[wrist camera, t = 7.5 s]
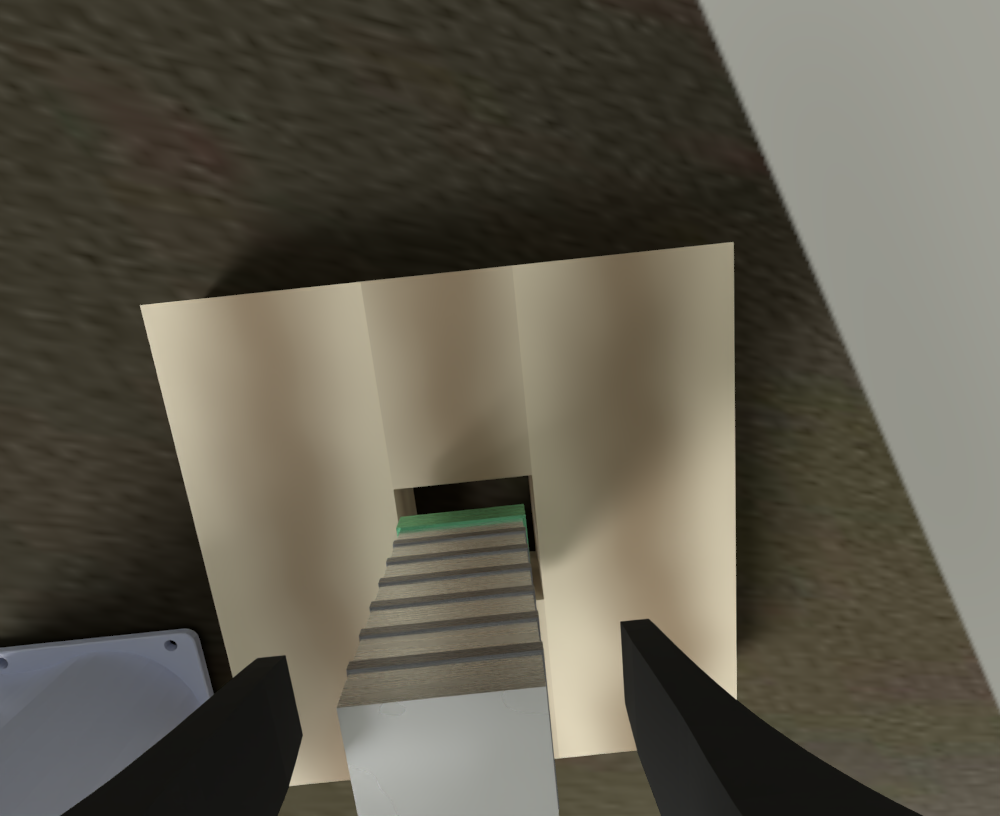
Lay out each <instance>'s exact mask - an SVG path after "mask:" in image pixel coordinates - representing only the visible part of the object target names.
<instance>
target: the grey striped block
mask: <svg viewBox="0 0 1000 816" xmlns="http://www.w3.org/2000/svg"><path fill="white" fill-rule="evenodd" d="M396 531H397V537H398V538H397V540H394V542H393V552H392V555H391V557H390V558H387V561H386V566H387V569H386V571H385V574H384V577H383V578H380V580H379V583H378V585H379V591H378V594H377V596H376V599H375V601H371V604H370V607H369V609H370V616H369V619H368V621H367V624H366V627H365V629H361V631H360V634H359V641H360V644H359V646H358V649H357V652H356V655H355V657H354V660H353V661H349V664H348V666H347V669H346V672H347V680H346V682H345V685H344V688H343V691H342V694H341V696H340V699H339V702H338V705H337V707H336V709H337V714H338V719H339V724H340V729H341V734H342V739H343V744H344V749H345V754H346V759H347V764H348V768H349V773H350V778H351V783H352V788H353V793H354V798H355V803H356V808H357V813H358V816H559V812H558V809H559V800H558V790H557V780H556V770H555V760H554V749H553V739H552V729H551V719H550V709H549V698H548V688H547V678H546V668H545V658H544V648H543V642H542V641H541V633H540V623H539V615H538V611H537V607H536V596H535V588H534V585H533V578H532V568H531V562H530V555H529V545H528V535H527V525H526V515H525V509H524V504H518V505H508V506H499V507H489V508H480V509H470V510H460V511H451V512H441V513H432V514H422V515H413V516H403V517H400V519H399V522H398V525H397V527H396Z"/></svg>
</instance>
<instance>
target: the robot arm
mask: <svg viewBox="0 0 1000 816" xmlns="http://www.w3.org/2000/svg"><path fill="white" fill-rule="evenodd" d="M620 628H621V646H622V663H623V681H624V698H625V706H626V710H627V714H628V718H629V722H630V725H631V729H632V733H633V737H634V741H635V744H636V748H637V752H638V755H639V758H640V760H641V763H642V766H643V768H644V771H645V774H646V776H647V779H648V782H649V784H650V787H651V790H652V792H653V795H654V798H655V800H656V803H657V806H658V808H659V811H660V814H661V816H922V815H920V814H918V813H916V812H914V811H912V810H910V809H908V808H906V807H904V806H902V805H900V804H898V803H896V802H894V801H892V800H891V799H889V798H887V797H885V796H883V795H881V794H880V793H878V792H876V791H874V790H872V789H870V788H868V787H867V786H865V785H863V784H861V783H860V782H858V781H856V780H854V779H853V778H851V777H849V776H848V775H846V774H844V773H843V772H841V771H839V770H837V769H836V768H834V767H832V766H831V765H829V764H827V763H826V762H824V761H822V760H821V759H819V758H818V757H816V756H814V755H813V754H811V753H810V752H808V751H807V750H805V749H803V748H802V747H800V746H799V745H798V744H796V743H795V742H793V741H792V740H790V739H789V738H787V737H786V736H784V735H783V734H782V733H780V732H779V731H777V730H776V729H774V728H773V727H771V726H770V725H769V724H767V723H766V722H765V721H763V720H762V719H760V718H759V717H758V716H756V715H755V714H754V713H753V712H751V711H750V710H749V709H748V708H746V707H745V706H744V705H743V704H741V703H740V702H739V701H738V700H736V699H735V698H734V697H733V696H732V695H730V694H729V693H728V692H727V691H726V690H724V689H723V688H722V687H721V686H720V685H719V684H717V683H716V682H715V681H714V680H713V679H712V678H711V677H710V676H709V675H707V674H706V673H705V672H704V671H703V670H702V669H701V668H700V667H698V666H697V665H696V664H695V663H694V662H693V661H692V660H691V659H690V658H689V657H688V656H687V655H686V654H685V653H684V652H683V651H682V650H680V649H679V648H678V647H677V646H676V645H675V644H674V643H673V642H672V641H671V640H670V639H669V638H668V637H667V636H666V635H665V634H664V633H663V632H662V631H661V630H660V629H659V628H658V627H657V626H656V625H655V624H654V623H653V622H652V621H651V620H650V619H640V620H630V621H620ZM170 640H173V641H174V642H176V644H177V645H174V644H172V643H171V642H170ZM6 660H7V661H6ZM302 737H303V733H302V728H301V724H300V719H299V715H298V710H297V705H296V701H295V696H294V692H293V687H292V682H291V678H290V673H289V669H288V664H287V660H286V655H282V656H272V657H262V658H257V659H255V660H254V661H253V662H252V663H250V664H249V665H248V666H246V667H245V668H244V669H243V670H242V671H240V672H239V673H238V674H237V675H236V676H235V677H233V678H232V679H231V680H230V681H229V682H228V683H226V684H225V685H224V686H223V687H222V688H221V689H219V690H218V691H217V692H216V693H215V694H214V693H213V689H212V685H211V681H210V677H209V673H208V670H207V666H206V662H205V658H204V654H203V650H202V647H201V643H200V639H199V636H198V634H197V633H196V632H195V631H193V630H191V629H175V630H165V631H156V632H146V633H137V634H127V635H117V636H108V637H98V638H89V639H79V640H69V641H60V642H50V643H41V644H31V645H21V646H12V647H2V648H0V816H278V813H279V811H280V808H281V806H282V803H283V801H284V798H285V795H286V793H287V790H288V788H289V784H290V781H291V778H292V774H293V771H294V767H295V764H296V760H297V756H298V752H299V749H300V745H301V741H302Z"/></svg>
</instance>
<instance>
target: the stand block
mask: <svg viewBox="0 0 1000 816" xmlns="http://www.w3.org/2000/svg"><path fill="white" fill-rule="evenodd" d="M140 307H141V311H142V315H143V319H144V323H145V327H146V331H147V335H148V339H149V343H150V347H151V351H152V355H153V359H154V363H155V367H156V371H157V375H158V379H159V383H160V387H161V391H162V396H163V400H164V404H165V408H166V412H167V416H168V420H169V424H170V428H171V432H172V436H173V440H174V444H175V448H176V452H177V456H178V460H179V464H180V468H181V472H182V476H183V480H184V484H185V488H186V492H187V496H188V500H189V504H190V508H191V512H192V516H193V520H194V524H195V528H196V532H197V536H198V540H199V544H200V548H201V552H202V556H203V560H204V564H205V568H206V572H207V576H208V580H209V584H210V588H211V592H212V596H213V600H214V604H215V608H216V612H217V616H218V620H219V624H220V628H221V632H222V636H223V640H224V644H225V648H226V652H227V656H228V660H229V664H230V668H231V672H232V676H233V677H235V676H236V675H237V674H238V673H239V672H240V671H242V670H243V669H244V668H245V667H246V666H248V665H249V664H250V663H252V662H253V661H254V660H255V659H257V658H262V657H272V656H282V655H286V660H287V664H288V669H289V673H290V678H291V682H292V687H293V692H294V696H295V701H296V705H297V710H298V715H299V719H300V724H301V728H302V733H303V737H302V741H301V745H300V749H299V752H298V756H297V760H296V764H295V767H294V771H293V774H292V778H291V781H290V784H289V786H294V785H304V784H314V783H323V782H333V781H343V780H351V778H350V773H349V768H348V764H347V759H346V754H345V749H344V744H343V739H342V734H341V729H340V724H339V719H338V714H337V709H336V707H337V705H338V702H339V699H340V696H341V694H342V691H343V688H344V685H345V682H346V680H347V672H346V669H347V666H348V664H349V661H353V660H354V657H355V655H356V652H357V649H358V646H359V644H360V641H359V634H360V631H361V629H365V627H366V624H367V621H368V619H369V616H370V609H369V607H370V604H371V601H375V599H376V596H377V594H378V591H379V585H378V583H379V580H380V578H383V577H384V574H385V571H386V569H387V566H386V561H387V558H390V557H391V555H392V552H393V542H394V540H397V538H398V537H397V531H396V527H397V525H398V522H399V519H400V517H403V516H413V515H417V510H416V503H415V497H414V490H413V487H423V486H432V485H442V484H451V483H461V482H470V481H480V480H489V479H499V478H508V477H518V476H527V475H528V477H529V488H530V498H531V508H532V518H533V529H534V539H535V549H536V551H532V552H529V555H530V562H531V568H532V578H533V585H534V588H535V596H536V607H537V611H538V615H539V623H540V633H541V641H542V642H543V648H544V658H545V668H546V678H547V688H548V698H549V709H550V719H551V729H552V739H553V749H554V759H557V758H566V757H576V756H586V755H595V754H605V753H615V752H625V751H634V750H637V748H636V744H635V741H634V737H633V733H632V729H631V725H630V722H629V718H628V714H627V710H626V706H625V698H624V681H623V663H622V646H621V628H620V621H630V620H640V619H650V620H651V621H652V622H653V623H654V624H655V625H656V626H657V627H658V628H659V629H660V630H661V631H662V632H663V633H664V634H665V635H666V636H667V637H668V638H669V639H670V640H671V641H672V642H673V643H674V644H675V645H676V646H677V647H678V648H679V649H680V650H682V651H683V652H684V653H685V654H686V655H687V656H688V657H689V658H690V659H691V660H692V661H693V662H694V663H695V664H696V665H697V666H698V667H700V668H701V669H702V670H703V671H704V672H705V673H706V674H707V675H709V676H710V677H711V678H712V679H713V680H714V681H715V682H716V683H717V684H719V685H720V686H721V687H722V688H723V689H724V690H726V691H727V692H728V693H729V694H730V695H732V696H733V697H734V698H735V699H736V700H737V659H736V506H735V353H734V242H728V243H719V244H709V245H700V246H691V247H681V248H672V249H663V250H653V251H644V252H634V253H625V254H616V255H606V256H597V257H588V258H578V259H569V260H560V261H550V262H541V263H532V264H522V265H513V266H503V267H494V268H485V269H475V270H466V271H457V272H447V273H438V274H429V275H419V276H410V277H401V278H391V279H382V280H372V281H363V282H354V283H344V284H335V285H326V286H316V287H307V288H298V289H288V290H279V291H270V292H260V293H251V294H241V295H232V296H223V297H213V298H204V299H195V300H185V301H176V302H167V303H157V304H148V305H140Z"/></svg>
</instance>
